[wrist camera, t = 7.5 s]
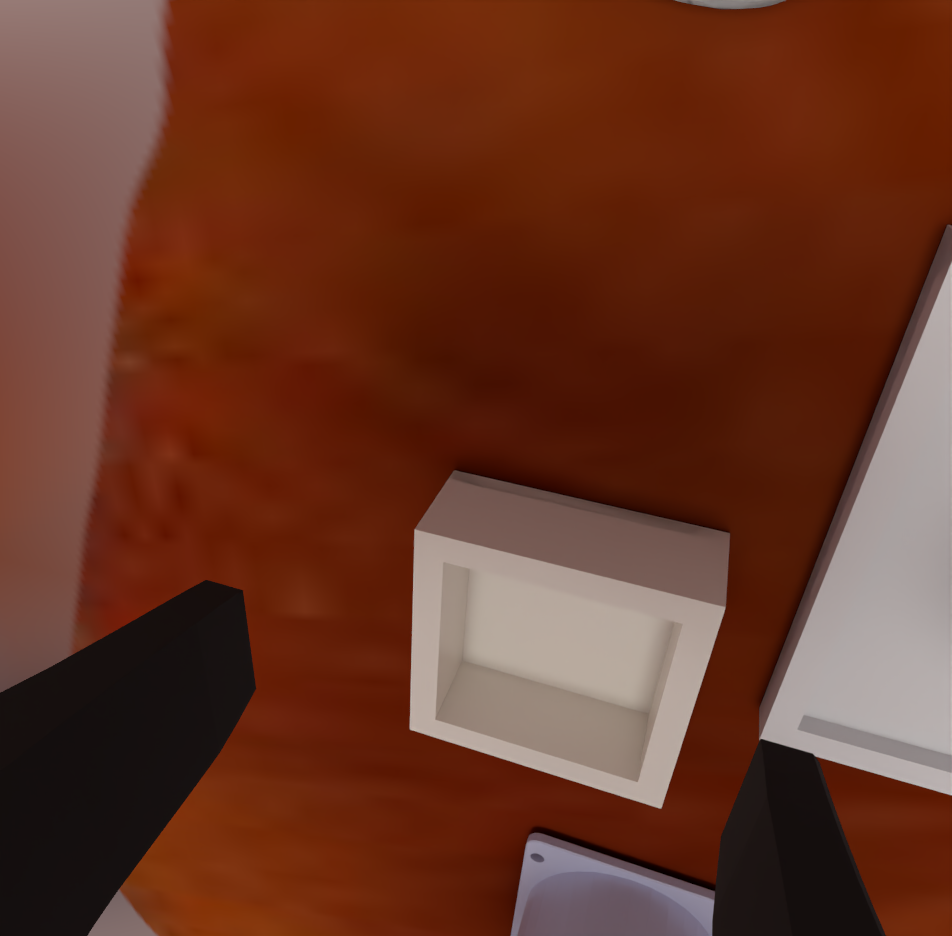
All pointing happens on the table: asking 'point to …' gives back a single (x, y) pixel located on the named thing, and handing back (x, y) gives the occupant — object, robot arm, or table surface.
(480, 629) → the square socket block
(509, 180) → the table surface
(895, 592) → the tray
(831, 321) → the table surface
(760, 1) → the ceramic mug
